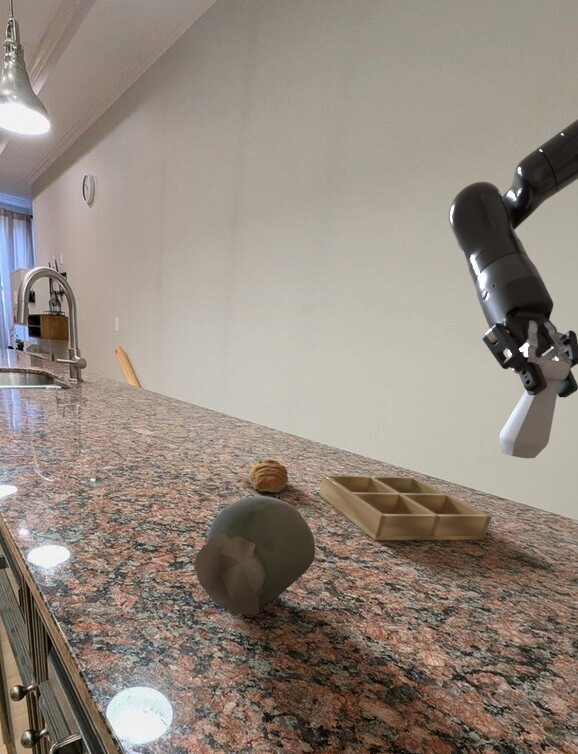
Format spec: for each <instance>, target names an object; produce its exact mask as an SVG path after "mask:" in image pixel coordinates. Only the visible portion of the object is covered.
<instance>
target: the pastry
mask: <svg viewBox="0 0 578 754" xmlns="http://www.w3.org/2000/svg"><path fill="white" fill-rule="evenodd" d="M247 475H248V476H247V477H248V481H249V484H250V485H251V486H252V487H253V488H254V490H257V491H258V492H271V493H276V494H277V493H278V494H279V493H280V492H281V491H283V490H284V489H286V485H287V484H288V481H289V476H288V470H287V468H286V467H285V466H284V465H281V463H280V462H279V461H276V460H275V459H270V458H269V459H264V460H258V462H256V463H253V466H252V467H251V468H250V470H249V472H248V474H247Z"/></svg>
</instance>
